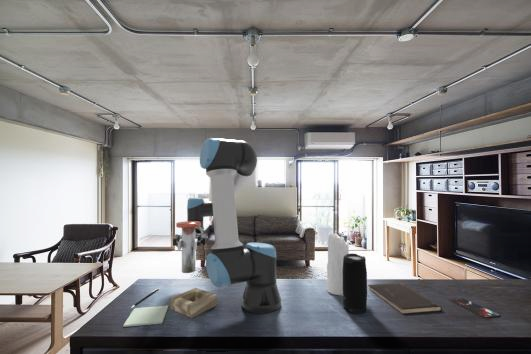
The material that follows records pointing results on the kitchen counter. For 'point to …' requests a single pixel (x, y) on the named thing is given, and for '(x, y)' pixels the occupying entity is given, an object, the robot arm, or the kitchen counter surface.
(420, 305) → the hardcover book
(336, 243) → the decorative vase
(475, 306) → the smartphone
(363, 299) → the portable speaker
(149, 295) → the pen
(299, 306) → the kitchen counter surface
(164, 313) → the sage pad
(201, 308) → the block
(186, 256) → the steel peg
